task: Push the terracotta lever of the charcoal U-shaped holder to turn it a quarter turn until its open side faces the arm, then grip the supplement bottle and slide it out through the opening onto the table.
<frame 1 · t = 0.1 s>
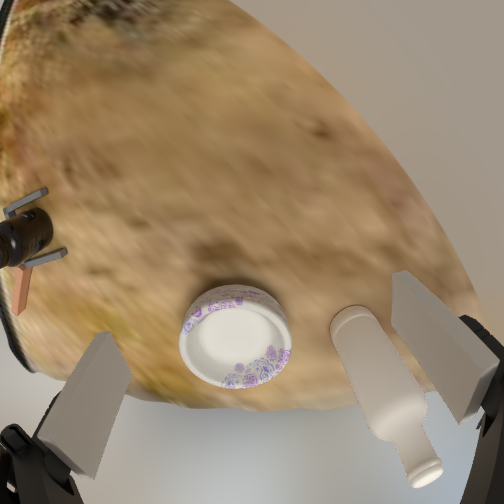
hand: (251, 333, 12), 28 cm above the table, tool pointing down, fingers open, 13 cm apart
holder: (24, 259, 38), point 2 cm above the table, hinge at 0.0°
paper bowls: (235, 318, 45), on the table
bottle: (351, 324, 46), on the table
supplement bottle: (39, 227, 39), on the table
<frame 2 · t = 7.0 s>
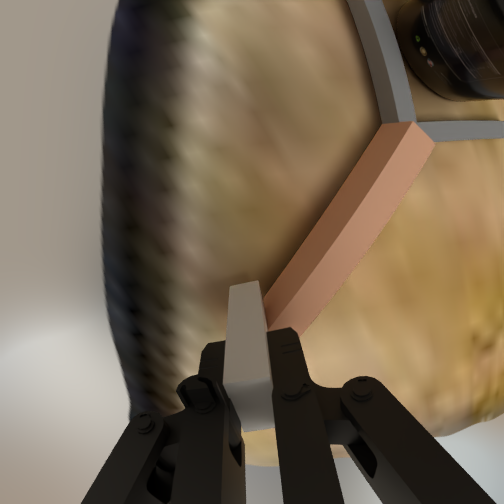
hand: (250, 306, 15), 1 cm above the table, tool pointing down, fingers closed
holder: (413, 109, 11), point 2 cm above the table, hinge at 0.3°, touching gripper
supplement bottle: (438, 49, 11), on the table
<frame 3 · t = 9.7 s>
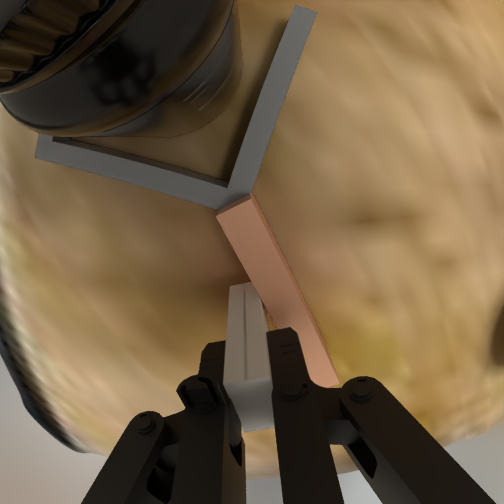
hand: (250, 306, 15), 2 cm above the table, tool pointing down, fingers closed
holder: (214, 180, 12), point 2 cm above the table, hinge at 58.5°, touching gripper
supplement bottle: (172, 72, 12), on the table
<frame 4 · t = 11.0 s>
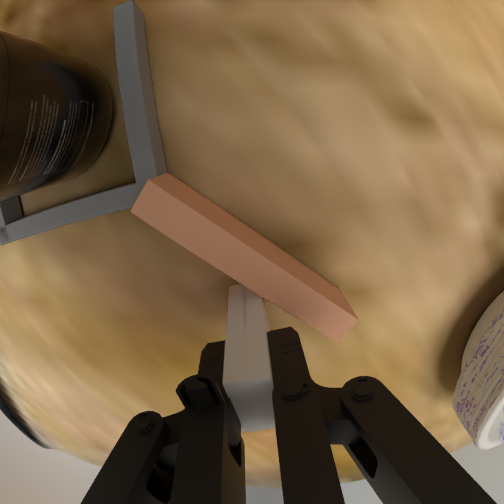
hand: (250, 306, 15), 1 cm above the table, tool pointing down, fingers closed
holder: (125, 183, 12), point 2 cm above the table, hinge at 86.7°, touching gripper
paper bowls: (498, 329, 19), on the table
supplement bottle: (65, 120, 12), on the table
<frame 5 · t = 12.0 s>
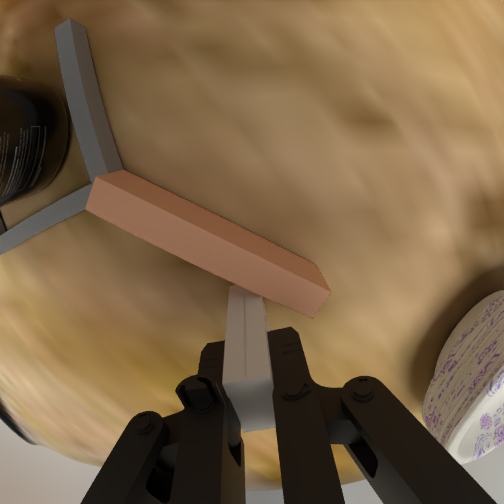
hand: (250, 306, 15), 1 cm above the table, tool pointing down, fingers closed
holder: (83, 184, 12), point 2 cm above the table, hinge at 94.4°, touching gripper
paper bowls: (476, 339, 19), on the table
supplement bottle: (30, 138, 13), on the table
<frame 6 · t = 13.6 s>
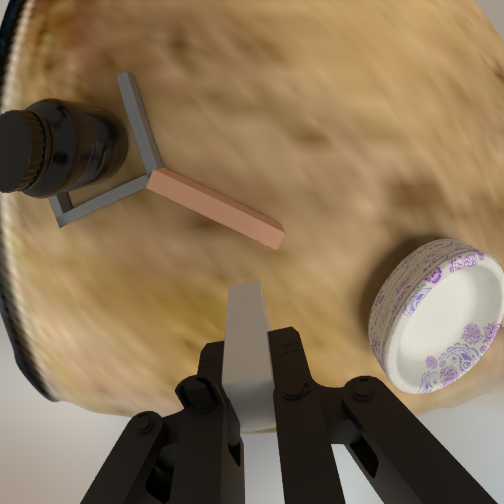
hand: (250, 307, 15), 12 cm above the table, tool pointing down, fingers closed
holder: (140, 175, 22), point 2 cm above the table, hinge at 95.4°
paper bowls: (417, 295, 29), on the table
supplement bottle: (96, 145, 23), on the table
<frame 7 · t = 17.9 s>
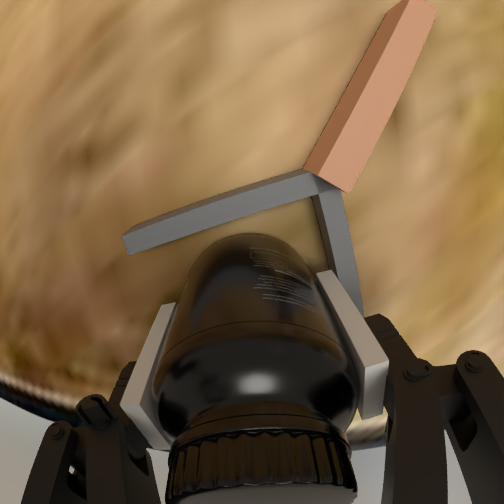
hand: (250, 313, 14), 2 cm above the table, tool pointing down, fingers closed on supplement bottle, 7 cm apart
holder: (317, 206, 13), point 2 cm above the table, hinge at 95.4°
supplement bottle: (249, 289, 16), on the table, touching gripper
when the fingers open (3 cm above the table, at t = 21.5 s): supplement bottle stays where it is, on the table.
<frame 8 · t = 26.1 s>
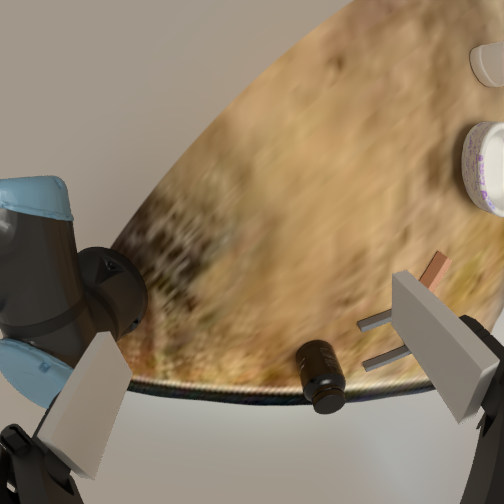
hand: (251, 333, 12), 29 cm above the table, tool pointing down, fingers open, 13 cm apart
holder: (407, 316, 45), point 2 cm above the table, hinge at 95.4°
paper bowls: (478, 164, 38), on the table
bottle: (482, 67, 31), on the table
supplement bottle: (314, 354, 49), on the table
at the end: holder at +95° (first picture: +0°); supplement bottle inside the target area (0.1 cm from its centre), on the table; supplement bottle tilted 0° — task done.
